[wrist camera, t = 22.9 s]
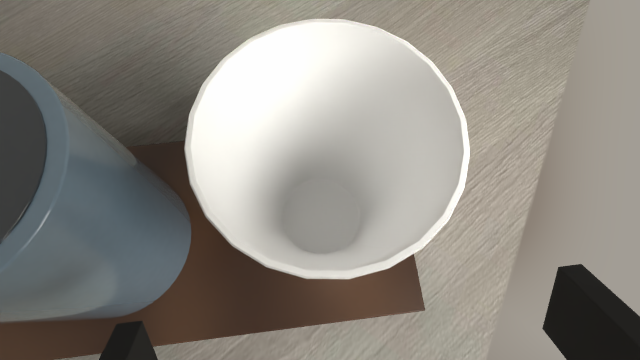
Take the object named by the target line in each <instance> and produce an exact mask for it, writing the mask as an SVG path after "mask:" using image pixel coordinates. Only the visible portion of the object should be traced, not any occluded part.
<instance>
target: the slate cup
mask: <svg viewBox="0 0 640 360" xmlns="http://www.w3.org/2000/svg"><path fill="white" fill-rule="evenodd" d="M190 243H191V223H190V218H189V214H188V211H187V209H186V206H185V204H184V202H183V201H182V199H181V197H180V196H179V195H178V193H177V192H176V191H175V190H174V189H173V188H172V187H171V186H170V185H169V184H167V183H166V182H165V181H164V180H163V179H162V178H160V177H159V176H158V175H157V174H156V173H155V172H153V171H152V170H151V169H150V168H149V167H148V166H147V165H145V164H144V163H143V162H142V161H141V160H140V159H138V158H137V157H136V156H135V155H134V154H133V153H131V152H130V151H129V150H128V149H127V148H126V147H124V146H123V145H122V144H121V143H120V142H119V141H118V140H116V139H115V138H114V137H113V136H112V135H111V134H109V133H108V132H107V131H106V130H105V129H104V128H102V127H101V126H100V125H99V124H98V123H97V122H95V121H94V120H93V119H92V118H91V117H90V116H89V115H87V114H86V113H85V112H84V111H83V110H82V109H80V108H79V107H78V106H77V105H76V104H75V103H73V102H72V101H71V100H70V99H69V98H68V97H66V96H65V95H64V94H63V93H62V92H61V91H59V90H58V89H57V88H56V87H55V86H54V85H53V84H51V83H50V82H49V81H48V80H47V79H46V78H44V77H43V76H42V75H41V74H40V73H39V72H37V71H36V70H35V69H33V68H32V67H30V66H29V65H27V64H26V63H25V62H23V61H21V60H18V59H16V58H14V57H12V56H10V55H7V54H4V53H1V52H0V324H3V323H24V322H45V321H66V320H86V319H106V318H116V317H121V316H125V315H128V314H131V313H134V312H136V311H139V310H141V309H143V308H145V307H146V306H148V305H149V304H151V303H153V302H154V301H155V300H157V299H158V298H159V297H160V296H162V295H163V294H164V293H165V292H166V291H167V290H168V289H169V288H170V286H171V285H172V284H173V282H174V281H175V280H176V278H177V277H178V275H179V274H180V272H181V270H182V268H183V266H184V264H185V262H186V259H187V256H188V253H189V248H190Z"/></svg>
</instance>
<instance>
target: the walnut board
mask: <svg viewBox="0 0 640 360" xmlns="http://www.w3.org/2000/svg"><path fill="white" fill-rule="evenodd" d="M184 146H185V141H179V142H169V143H159V144H150V145H140V146H130V147H126V148H127V149H128V150H129V151H130V152H131V153H133V154H134V155H135V156H136V157H137V158H138V159H140V160H141V161H142V162H143V163H144V164H145V165H147V166H148V167H149V168H150V169H151V170H152V171H153V172H155V173H156V174H157V175H158V176H159V177H160V178H162V179H163V180H164V181H165V182H166V183H167V184H169V185H170V186H171V187H172V188H173V189H174V190H175V191H176V192H177V193H178V195H179V196H180V197H181V199H182V201H183V202H184V204H185V206H186V209H187V211H188V214H189V218H190V223H191V243H190V248H189V253H188V256H187V259H186V262H185V264H184V266H183V268H182V270H181V272H180V274H179V275H178V277H177V278H176V280H175V281H174V282H173V284H172V285H171V286H170V288H169V289H168V290H167V291H166V292H165V293H164V294H163V295H162V296H160V297H159V298H158V299H157V300H155V301H154V302H153V303H151V304H149V305H148V306H146V307H145V308H143V309H141V310H139V311H136V312H134V313H131V314H128V315H125V316H121V317H116V318H106V319H86V320H66V321H45V322H24V323H3V324H0V360H54V359H62V358H70V357H77V356H85V355H92V354H100V353H102V352H103V350H104V348H105V346H106V344H107V342H108V340H109V338H110V336H111V334H112V332H113V330H114V328H115V326H116V324H118V323H126V322H134V321H143V324H144V326H145V329H146V331H147V334H148V336H149V339H150V341H151V344H152V346H160V345H168V344H176V343H183V342H191V341H198V340H206V339H213V338H221V337H229V336H236V335H244V334H251V333H259V332H266V331H274V330H282V329H289V328H297V327H304V326H312V325H319V324H327V323H335V322H342V321H350V320H357V319H365V318H372V317H380V316H388V315H395V314H403V313H410V312H418V311H424V310H425V308H424V303H423V298H422V292H421V287H420V282H419V277H418V272H417V267H416V262H415V257H414V254H412V255H411V256H409V257H407V258H406V259H404V260H402V261H401V262H399V263H397V264H396V265H394V266H392V267H391V268H389V269H385V270H381V271H378V272H374V273H370V274H366V275H363V276H359V277H355V278H352V279H306V278H302V277H299V276H295V275H292V274H288V273H285V272H281V271H278V270H274V269H271V268H267V267H265V266H264V265H262V264H260V263H259V262H257V261H256V260H254V259H252V258H251V257H249V256H247V255H246V254H244V253H243V252H241V251H239V250H238V249H236V248H234V247H233V246H232V245H231V244H230V243H229V242H228V241H227V240H226V239H225V238H224V237H223V236H222V234H221V233H220V232H219V231H218V230H217V229H216V228H215V227H214V226H213V225H212V223H211V222H210V221H209V220H208V219H207V218H206V217H205V215H204V212H203V210H202V208H201V206H200V204H199V202H198V200H197V198H196V196H195V194H194V192H193V190H192V188H191V186H190V183H189V176H188V170H187V164H186V157H185V151H184Z"/></svg>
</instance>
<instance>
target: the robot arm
mask: <svg viewBox="0 0 640 360" xmlns="http://www.w3.org/2000/svg"><path fill="white" fill-rule="evenodd" d="M543 330H544V331H545V332H546V334H547V335H548V336H549V337H550V339H551V340H552V341H553V343H554V344H555V345H556V346H557V348H558V349H559V350H560V351H561V353H562V354H563V355H564V357H565V358H566V359H567V360H640V316H638V315H637V314H636V313H635V312H634V311H633V310H632V309H631V308H629V307H628V306H627V305H626V304H625V303H624V302H623V301H622V300H621V299H619V298H618V297H617V296H616V295H615V294H614V293H613V292H612V291H611V290H610V289H608V288H607V287H606V286H605V285H604V284H603V283H602V282H601V281H600V280H598V279H597V278H596V277H595V276H594V275H593V274H592V273H591V272H590V271H588V270H587V269H586V268H585V267H584V266H583V265H582V264H579V265H571V266H563V267H558V271H557V275H556V279H555V283H554V286H553V290H552V294H551V298H550V302H549V306H548V310H547V313H546V317H545V321H544V325H543ZM99 360H158V359H157V356H156V354H155V351H154V349H153V346H152V344H151V341H150V339H149V336H148V334H147V331H146V329H145V326H144V324H143V321H134V322H126V323H118V324H116V326H115V328H114V330H113V332H112V334H111V336H110V338H109V340H108V342H107V344H106V346H105V348H104V350H103V352H102V354H101V356H100V358H99Z"/></svg>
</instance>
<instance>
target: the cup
mask: <svg viewBox="0 0 640 360" xmlns="http://www.w3.org/2000/svg"><path fill="white" fill-rule="evenodd" d="M184 151H185V157H186V164H187V170H188V176H189V183H190V186H191V188H192V190H193V192H194V194H195V196H196V198H197V200H198V202H199V204H200V206H201V208H202V210H203V212H204V215H205V217H206V218H207V219H208V220H209V221H210V222H211V223H212V225H213V226H214V227H215V228H216V229H217V230H218V231H219V232H220V233H221V234H222V236H223V237H224V238H225V239H226V240H227V241H228V242H229V243H230V244H231V245H232V246H233V247H234V248H236V249H238V250H239V251H241V252H243V253H244V254H246V255H247V256H249V257H251V258H252V259H254V260H256V261H257V262H259V263H260V264H262V265H264V266H265V267H267V268H271V269H274V270H278V271H281V272H285V273H288V274H292V275H295V276H299V277H302V278H306V279H352V278H355V277H359V276H363V275H366V274H370V273H374V272H378V271H381V270H385V269H389V268H391V267H392V266H394V265H396V264H397V263H399V262H401V261H402V260H404V259H406V258H407V257H409V256H411V255H412V254H414V253H416V252H417V251H419V250H421V249H422V248H424V246H425V245H426V244H427V243H428V242H429V241H430V240H431V239H432V238H433V237H434V236H435V235H436V233H437V232H438V231H439V230H440V229H441V228H442V227H443V226H444V225H445V224H446V223H447V222H448V220H449V219H450V217H451V215H452V213H453V211H454V209H455V206H456V204H457V202H458V200H459V198H460V196H461V194H462V192H463V190H464V188H465V183H466V177H467V170H468V164H469V158H470V147H469V139H468V131H467V123H466V118H465V116H464V114H463V111H462V109H461V106H460V104H459V102H458V99H457V97H456V95H455V92H454V90H453V88H452V87H451V85H450V84H449V83H448V81H447V80H446V79H445V78H444V76H443V75H442V74H441V72H440V71H439V70H438V68H437V67H436V66H435V65H434V63H433V62H432V61H431V60H430V59H428V58H427V57H426V56H425V55H423V54H422V53H421V52H420V51H418V50H417V49H416V48H415V47H413V46H412V45H411V44H409V43H408V42H407V41H405V40H403V39H401V38H399V37H397V36H395V35H393V34H391V33H389V32H386V31H384V30H382V29H380V28H378V27H375V26H371V25H367V24H363V23H358V22H354V21H350V20H346V19H308V20H302V21H297V22H292V23H287V24H282V25H278V26H276V27H274V28H272V29H269V30H267V31H265V32H263V33H260V34H258V35H256V36H253V37H251V38H249V39H248V40H247V41H245V42H244V43H243V44H241V45H240V46H239V47H237V48H236V49H235V50H233V51H232V52H231V53H229V54H228V55H227V56H225V57H224V58H223V59H222V60H221V62H220V63H219V64H218V65H217V66H216V68H215V69H214V70H213V71H212V73H211V74H210V75H209V76H208V78H207V79H206V80H205V81H204V83H203V84H202V86H201V88H200V90H199V93H198V95H197V97H196V99H195V102H194V104H193V106H192V109H191V111H190V113H189V116H188V124H187V131H186V139H185V146H184Z"/></svg>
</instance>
